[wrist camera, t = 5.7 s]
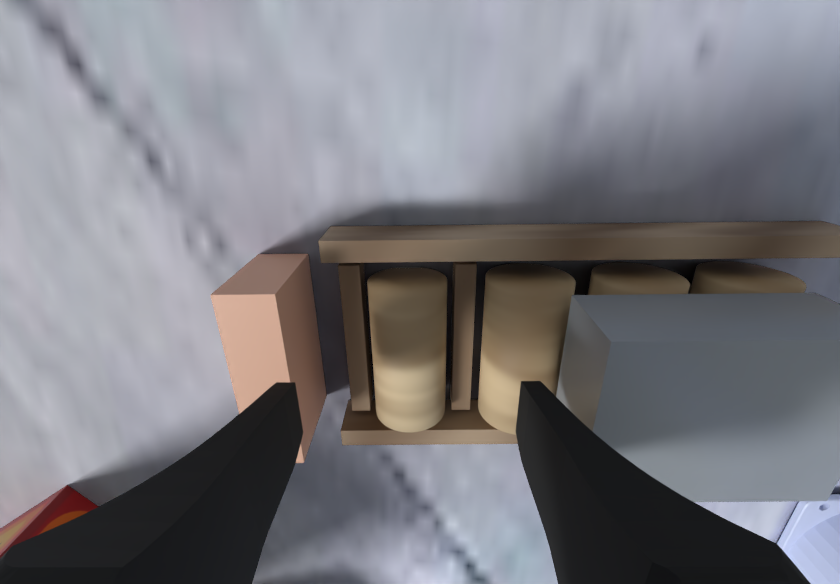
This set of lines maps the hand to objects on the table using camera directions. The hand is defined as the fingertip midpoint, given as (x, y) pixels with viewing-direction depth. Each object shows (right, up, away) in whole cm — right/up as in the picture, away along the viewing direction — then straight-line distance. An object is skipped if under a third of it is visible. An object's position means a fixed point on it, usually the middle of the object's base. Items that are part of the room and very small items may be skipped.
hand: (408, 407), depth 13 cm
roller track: (+6, +2, +5) cm, 8 cm away
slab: (+9, +1, +2) cm, 10 cm away
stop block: (-5, +2, +5) cm, 7 cm away
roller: (0, +2, +5) cm, 5 cm away
